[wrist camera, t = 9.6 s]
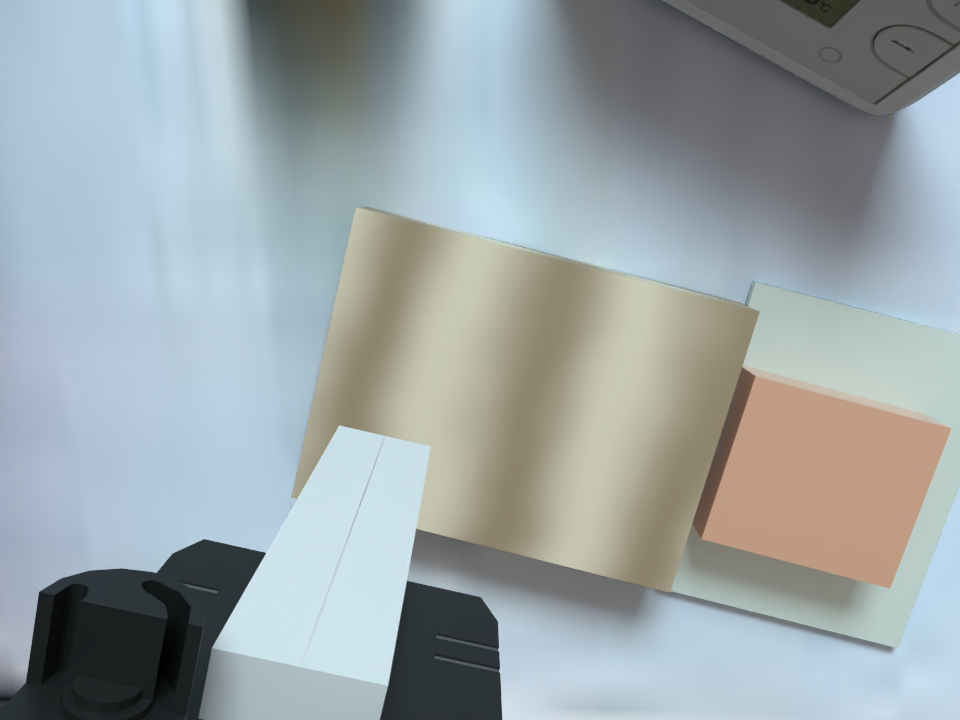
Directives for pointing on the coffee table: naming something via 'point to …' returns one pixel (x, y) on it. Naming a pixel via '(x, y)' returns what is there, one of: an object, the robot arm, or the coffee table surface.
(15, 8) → the coffee table surface
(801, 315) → the sage mat
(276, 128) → the coffee table surface
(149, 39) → the coffee table surface
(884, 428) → the terracotta tile
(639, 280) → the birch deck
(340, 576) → the robot arm
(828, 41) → the digital clock
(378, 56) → the coffee table surface
